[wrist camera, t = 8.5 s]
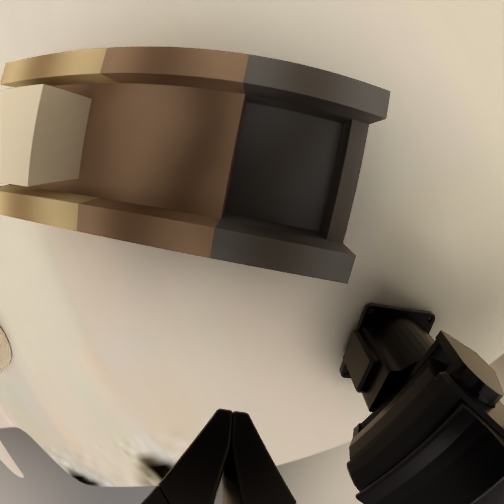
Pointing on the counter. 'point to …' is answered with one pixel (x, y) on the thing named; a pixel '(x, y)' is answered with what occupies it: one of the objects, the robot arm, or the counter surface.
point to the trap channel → (208, 155)
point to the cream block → (41, 134)
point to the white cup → (4, 351)
